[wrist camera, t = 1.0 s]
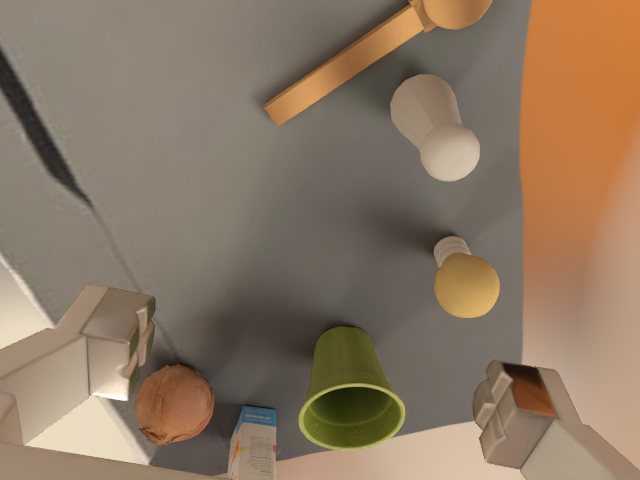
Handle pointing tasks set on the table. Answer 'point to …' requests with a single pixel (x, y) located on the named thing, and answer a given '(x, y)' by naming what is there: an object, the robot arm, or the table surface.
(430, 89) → the salt shaker
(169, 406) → the onion
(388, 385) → the plant pot
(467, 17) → the wooden spoon
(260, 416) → the ink box
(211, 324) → the table surface
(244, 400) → the table surface
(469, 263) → the light bulb
